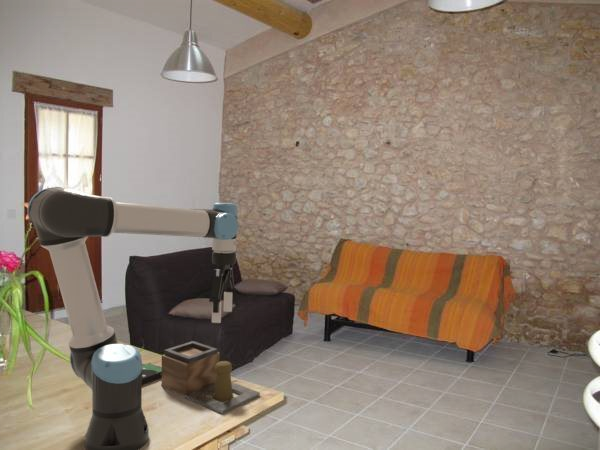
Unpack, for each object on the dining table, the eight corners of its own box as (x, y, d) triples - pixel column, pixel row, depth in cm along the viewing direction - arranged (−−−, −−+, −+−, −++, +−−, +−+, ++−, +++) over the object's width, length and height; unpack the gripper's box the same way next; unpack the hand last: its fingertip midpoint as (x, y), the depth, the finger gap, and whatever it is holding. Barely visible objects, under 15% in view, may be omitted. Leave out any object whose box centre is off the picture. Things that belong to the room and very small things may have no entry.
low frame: (222, 414, 140) (222, 410, 140) (185, 398, 149) (185, 394, 149) (259, 395, 153) (259, 392, 152) (223, 381, 162) (223, 378, 162)
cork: (222, 403, 147) (223, 367, 146) (209, 397, 150) (209, 362, 149) (237, 396, 152) (237, 362, 151) (223, 391, 155) (223, 357, 154)
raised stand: (186, 396, 151) (186, 359, 150) (161, 385, 158) (161, 350, 157) (219, 382, 162) (219, 348, 161) (195, 372, 169) (195, 340, 168)
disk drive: (130, 391, 154) (168, 376, 166) (130, 383, 154) (168, 368, 166) (111, 383, 160) (148, 369, 172) (111, 374, 160) (148, 361, 172)
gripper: (225, 257, 143) (223, 328, 145) (244, 247, 168) (242, 308, 169) (200, 255, 144) (198, 326, 145) (223, 246, 169) (221, 306, 170)
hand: (222, 316), depth 157 cm, fingers open, 13 cm apart
